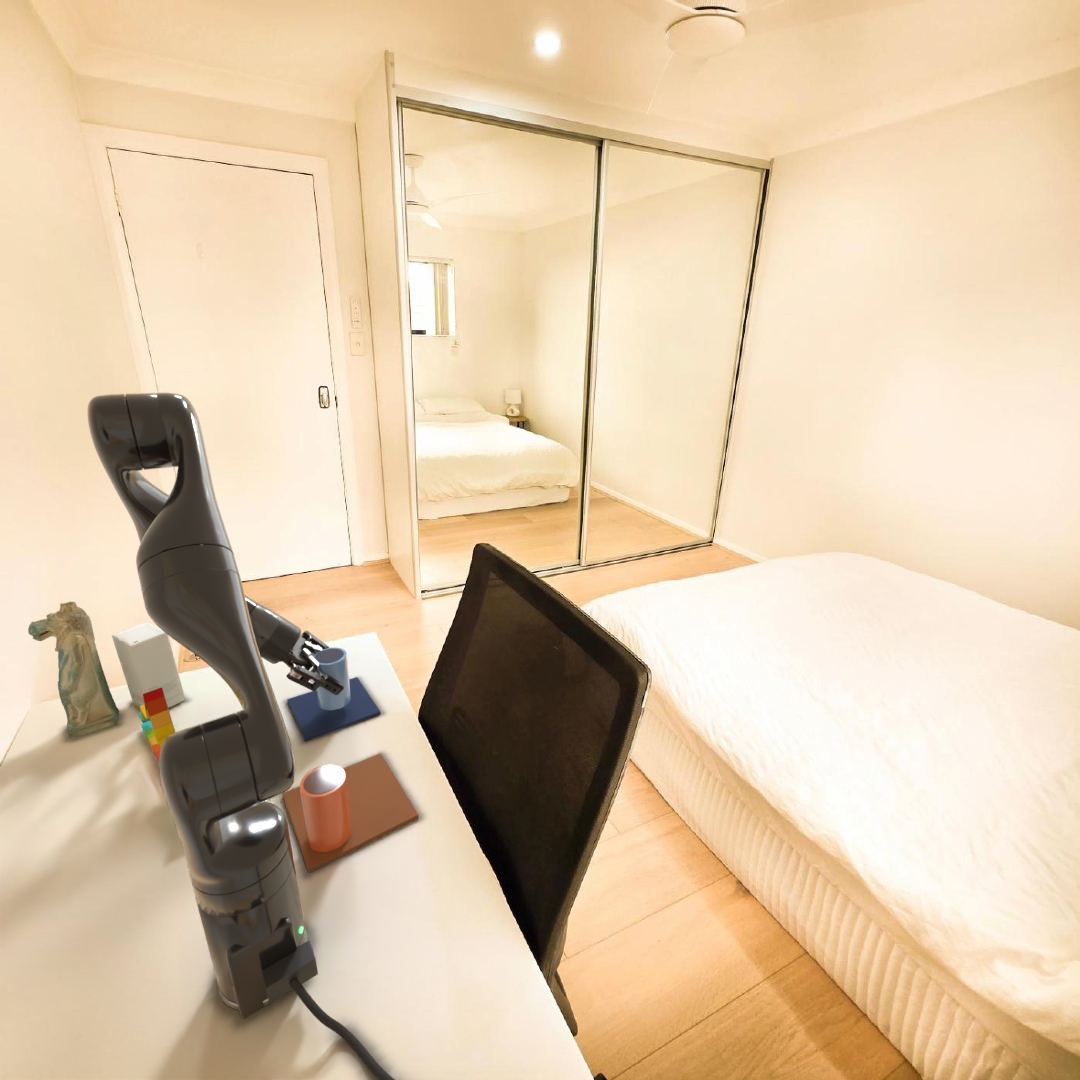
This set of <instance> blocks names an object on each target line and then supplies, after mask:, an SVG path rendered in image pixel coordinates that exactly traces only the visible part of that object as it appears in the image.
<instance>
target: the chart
mask: <svg viewBox="0 0 1080 1080" xmlns="http://www.w3.org/2000/svg"><path fill="white" fill-rule="evenodd" d="M143 699H144V705H141V706H140V707H139V709H140V712H139V713H138V717H139V719H140V721H141V728H142V732H143V735H144V737H145V739H146V740H147V741H146V742H147V743H148V744H149V747H150V748H151V751H152V753H153V754H154V756H155V758H156V761H157V762H158V763H159V753H160V750H161V746H162V744H163V742H164V741H165V739H166V738H167V737H168V736H170V735H171V734H173V733H175V732H176V730H175V727H174V723H173V720H172V717H171V713H170V708H168V706H167V703H166V699H165V696H164V693H163V689H162V687H161V688H158V689H156V690H153V691H150V692H147V693H144V694H143Z"/></svg>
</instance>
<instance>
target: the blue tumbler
mask: <svg viewBox="0 0 1080 1080" xmlns="http://www.w3.org/2000/svg"><path fill="white" fill-rule="evenodd" d="M315 659H316V660H317V661H318V662H319V665H320V666H321V667H320V668H321V669H322V670H323V671H324V672H325V673H326V674H327V675H328V676H330V677H332V678H334V679H335V680H337V681H339V682H340V683H342V684H343V685H344V689H343V690H342V691H341V692H340V693H339V694H338V695H334V694H333V693H331V692H329V691H328V690H326V689H324V688H323V687H319V688H318V689H317V690H316V692H317V700H318V706H319V707H320V708H321V709H324V710H336V709H340V708H342V707H344V706H346V705H347V704H348V703H349V702H350V700H351V692H350V682H349V679H350V673H349V663H348V653H347V650H345V649H344V648H341V647H329V648H327V649H323V650H322V651H319V652H317V653H316V655H315ZM315 674H316V675H318V676H320V675H319V674H318V673H317V672H316V673H315Z"/></svg>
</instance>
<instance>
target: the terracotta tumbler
mask: <svg viewBox="0 0 1080 1080" xmlns="http://www.w3.org/2000/svg"><path fill="white" fill-rule="evenodd" d="M299 786H300V794H301V800H302V807H303V813H304V820H305V826H306V833H307V839H308V844H309V846H310V848H311V849H312V850H314V851H316V852H330V851H333V850H336V849H338V848H339V847H341V846H342V845H343V844H345V843H346V841H347V840H348V839H349V837H350V835H351V833H352V824H351V816H350V807H349V799H348V790H347V781H346V773H345V771H344V770H343V767H341V766H340V765H336V764H323V765H320V766H316V767H314V768H313V769H311V770H309V771H308V772H307V773H306V774H305V775H303V777H302V778H301V780H300V782H299Z"/></svg>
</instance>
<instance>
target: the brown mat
mask: <svg viewBox="0 0 1080 1080" xmlns="http://www.w3.org/2000/svg"><path fill="white" fill-rule="evenodd" d="M342 769H343V770H344V771H345V773H346V781H347V790H348V799H349V807H350V816H351V824H352V833H351V835H350V837H349V839H348V840H347V841H346V843H345V844H343V845H342V846H341V847H339V848H338V849H336V850H333V851H330V852H316V851H314V850H312V849H311V848H310V846H309V844H308V839H307V833H306V826H305V820H304V813H303V807H302V800H301V794H300V785H298V786H297V787H294V788H292V789H290V790H287V791H285V792H284V793H282V798H283V801H284V803H285V807H286V809H287V812H288V815H289V818H290V821H291V824H292V826H293V830H294V833H295V836H296V838H297V839H296V840H297V842H298V844H299V848H300V850H301V853H302V858H303V860H304V862H305V866H306V868H307V871H308V873H311V872H313V871H315V870H317V869H319V868H321V867H324V866H325V865H327V864H329V863H331V862H333V861H335V860H337V859H340V858H341V857H343V856H345V855H347V854H349V853H351V852H353V851H355V850H357V849H359V848H361V847H363V846H364V845H367V844H369V843H371V842H372V841H375V840H377V839H379V838H381V837H383V836H385V835H388V834H389V833H391V832H393V831H395V830H397V829H399V828H401V827H403V826H405V825H407V824H409V823H410V822H413V821H414V820H417V819H419V817H420V815H419V813H418V811H417V809H416V808H415V806H414V805H413V803H412V800H410V798H409V796H408V795H407V793H406V792H405V790H404V788H403V787H402V785H401V784H400V782H399V780H398V779H397V777H396V776H395V774H394V772H393V770H392V769H391V767H390V765H389V764H388V762H387V761H386V759H385V757H384V756H383V754H382V753H381V752H380V753H377V754H375V755H372V756H370V757H368V758H365V759H363V760H360V761H358V762H356V763H353V764H351V765H348V766H346V767H342Z"/></svg>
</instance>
